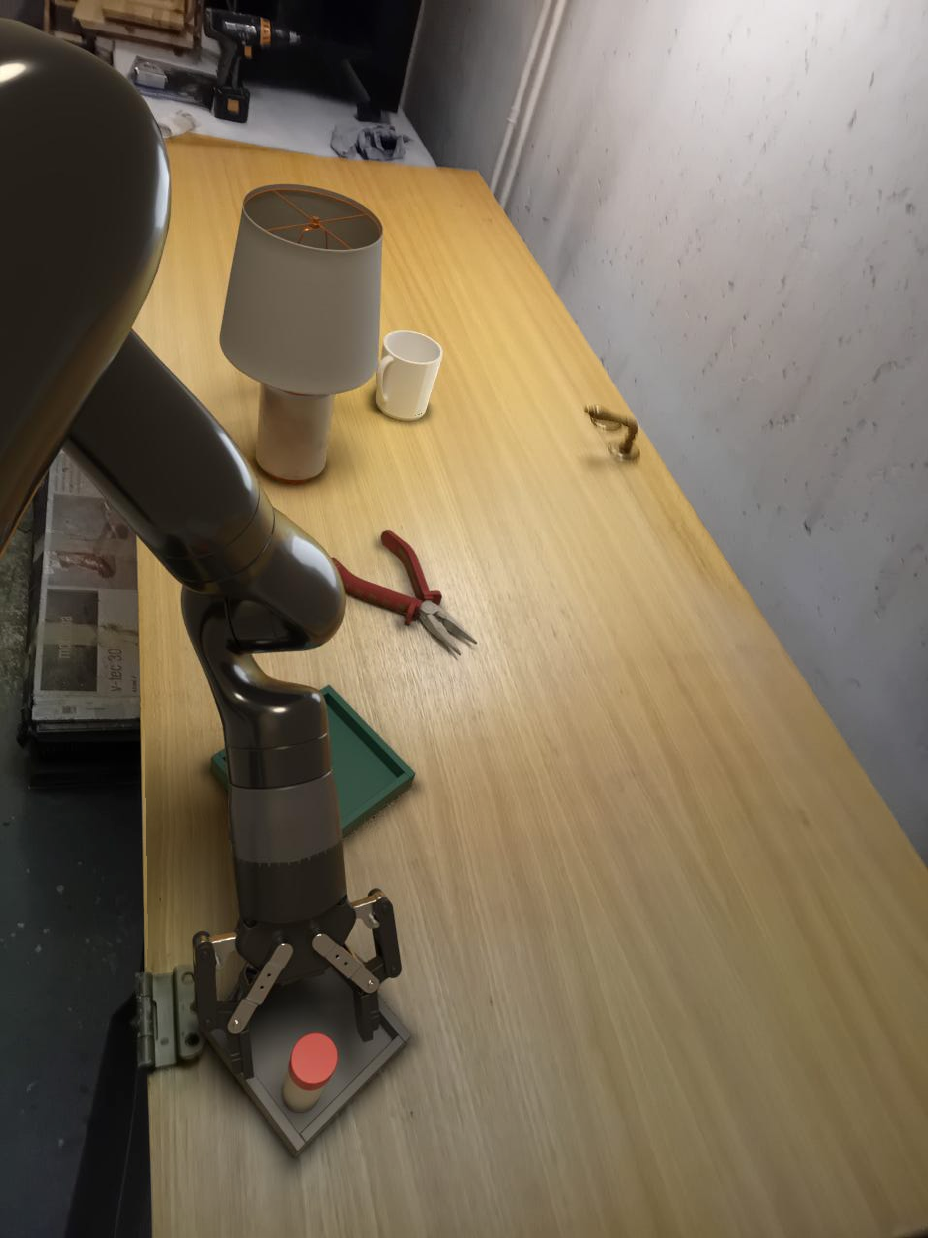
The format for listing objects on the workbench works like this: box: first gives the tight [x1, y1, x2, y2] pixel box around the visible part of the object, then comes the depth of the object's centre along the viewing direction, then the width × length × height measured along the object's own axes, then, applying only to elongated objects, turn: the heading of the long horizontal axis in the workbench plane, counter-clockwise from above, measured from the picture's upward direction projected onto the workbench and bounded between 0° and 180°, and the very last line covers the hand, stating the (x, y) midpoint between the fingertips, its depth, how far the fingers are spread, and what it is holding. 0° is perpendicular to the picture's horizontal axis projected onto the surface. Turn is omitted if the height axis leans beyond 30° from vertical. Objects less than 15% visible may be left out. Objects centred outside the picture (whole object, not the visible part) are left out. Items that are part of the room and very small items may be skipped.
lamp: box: [218, 183, 384, 485], centre depth 100 cm, size 19×19×34 cm
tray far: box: [209, 684, 417, 840], centre depth 81 cm, size 15×14×3 cm
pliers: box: [331, 529, 478, 657], centre depth 100 cm, size 12×20×3 cm, turn 46°
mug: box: [375, 329, 444, 422], centre depth 123 cm, size 11×9×10 cm
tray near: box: [202, 964, 413, 1159], centre depth 65 cm, size 12×12×3 cm
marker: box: [282, 1033, 338, 1113], centre depth 60 cm, size 3×3×10 cm
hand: (308, 1053), depth 59 cm, fingers open, 8 cm apart
